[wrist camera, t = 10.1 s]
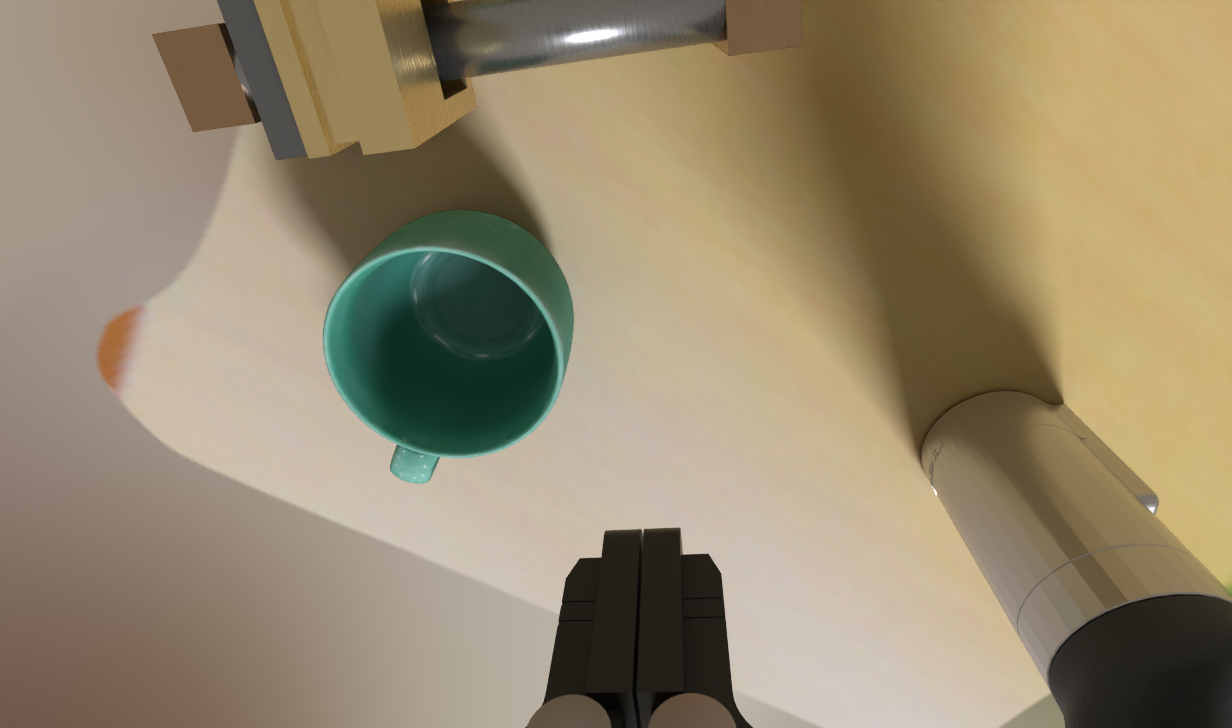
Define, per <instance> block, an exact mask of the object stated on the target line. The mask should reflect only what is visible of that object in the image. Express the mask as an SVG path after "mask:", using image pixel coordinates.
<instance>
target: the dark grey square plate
mask: <svg viewBox="0 0 1232 728" xmlns="http://www.w3.org/2000/svg"><path fill="white" fill-rule="evenodd" d="M217 2H218V4H219V7H220V10H221V12H222V15H223V18H224V21H225V23H226V26H227V29H228V31H229V34H230V37H231V39H232V42H233V45H234V48H235V50H236V53H237V56H238V58H239V61H240V64H241V66H242V69H243V72H244V75H245V77H246V80H247V83H248V85H249V88H250V91H251V93H252V96H253V99H254V102H255V104H256V107H257V110H258V112H259V115H260V118H261V120H262V123H263V126H264V129H265V131H266V134H267V137H268V139H269V142H270V145H271V147H272V150H273V153H274V156H275V158H276V160H280V159H287V158H295V157H302V156H307V153H306V150H305V147H304V144H303V141H302V138H301V135H300V133H299V130H298V127H297V124H296V121H295V118H294V115H293V112H292V110H291V107H290V104H289V101H288V98H287V95H286V92H285V89H284V87H283V84H282V81H281V78H280V75H279V72H278V69H277V66H276V64H275V61H274V58H273V55H272V52H271V49H270V46H269V43H268V41H267V38H266V35H265V32H264V29H263V26H262V23H261V20H260V18H259V15H258V12H257V9H256V6H255V3H254V0H217Z"/></svg>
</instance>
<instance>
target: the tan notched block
mask: <svg viewBox="0 0 1232 728" xmlns="http://www.w3.org/2000/svg"><path fill="white" fill-rule="evenodd" d="M449 2H454V0H254V3H255V6H256V9H257V12H258V15H259V18H260V20H261V23H262V26H263V29H264V32H265V35H266V38H267V41H268V43H269V46H270V49H271V52H272V55H273V58H274V61H275V64H276V66H277V69H278V72H279V75H280V78H281V81H282V84H283V87H284V89H285V92H286V95H287V98H288V101H289V104H290V107H291V110H292V112H293V115H294V118H295V121H296V124H297V127H298V130H299V133H300V135H301V138H302V141H303V144H304V147H305V150H306V153H307V156H308V158H309V159H311V158H318V157H326V156H331V155H333V154H335V153H337V152H339V151H341V150H343V149H345V148H347V147H349V146H351V145H353V144H355V143H357V142H360V146H361V149H362V152H363V155H369V154H376V153H384V152H391V151H399V150H406V149H414V148H416V147H418V146H419V145H421V144H422V143H424V142H425V141H427V140H428V139H430V138H431V137H433V136H434V135H436V134H437V133H439V132H440V131H442V130H443V129H445V128H446V127H448V126H449V125H451V124H452V123H454V122H455V121H457V120H458V119H460V118H461V117H463V116H464V115H466V114H467V113H469V112H470V111H472V110H473V109H474V108H476V107H477V104H476V100H475V95H474V91H473V86H472V82H471V77H468V78H462V79H455V80H448V81H441V82H440V80H439V76H438V72H437V68H436V64H435V60H434V55H433V51H432V47H431V43H430V39H429V35H428V31H427V27H426V22H425V18H424V14H423V10H422V7H423V6H430V5H436V4H443V3H449Z"/></svg>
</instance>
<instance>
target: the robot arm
mask: <svg viewBox="0 0 1232 728" xmlns="http://www.w3.org/2000/svg"><path fill="white" fill-rule="evenodd" d="M921 462H922V466H923V469H924V472H925V474H926V476H927V478H928V480H929V481H930V483H931V485H932V488H933V490H934V492H935V493H936V495H938V497H939V499H940V501H941V502H942V504H943V506H944V507H945V509H946V511H947V513H948V515H949V516H950V518H951V520H952V522H953V523H954V525H955V527H956V529H957V530H958V532H959V534H960V536H961V537H962V539H963V541H964V543H965V544H966V546H967V548H968V549H969V551H970V553H971V555H972V556H973V558H974V560H975V562H976V563H977V565H978V567H979V569H980V570H981V572H982V574H983V575H984V577H985V579H986V581H987V582H988V584H989V586H990V588H991V589H992V591H993V593H994V595H995V596H996V598H997V600H998V601H999V603H1000V605H1001V607H1002V608H1003V610H1004V612H1005V614H1006V615H1007V617H1008V619H1009V621H1010V622H1011V624H1012V626H1013V628H1014V629H1015V631H1016V633H1017V634H1018V636H1019V638H1020V640H1021V641H1022V643H1023V644H1024V646H1025V648H1026V650H1027V652H1028V653H1029V655H1030V657H1031V658H1032V660H1033V662H1034V664H1035V665H1036V667H1037V669H1038V671H1039V672H1040V674H1041V676H1042V678H1043V679H1044V681H1045V683H1046V685H1047V686H1048V688H1049V690H1050V691H1051V693H1052V695H1053V697H1054V698H1055V700H1056V702H1057V704H1058V705H1059V707H1060V709H1061V711H1062V713H1063V715H1064V720H1065V728H1232V594H1231V593H1230V592H1229V591H1228V590H1227V589H1226V588H1225V587H1224V586H1223V585H1222V584H1221V583H1220V581H1219V580H1218V579H1217V578H1216V577H1215V576H1214V575H1213V574H1212V573H1211V572H1210V571H1209V570H1208V569H1207V568H1206V567H1205V566H1204V565H1203V564H1202V563H1201V562H1200V561H1199V560H1198V559H1197V558H1196V557H1195V556H1194V555H1193V554H1192V553H1191V552H1190V551H1189V550H1188V549H1187V548H1186V547H1185V546H1184V545H1183V544H1182V543H1181V542H1180V541H1179V540H1178V539H1177V537H1176V536H1175V535H1174V534H1173V533H1172V532H1171V531H1170V530H1169V529H1168V528H1167V527H1166V526H1165V525H1164V524H1163V523H1162V522H1161V521H1160V520H1159V519H1158V518H1157V517H1156V516H1155V514H1156V511H1157V508H1158V505H1159V499H1158V497H1157V495H1156V494H1155V492H1154V491H1153V490H1152V489H1150V488H1149V487H1148V486H1147V485H1146V484H1145V483H1144V482H1143V481H1142V480H1141V479H1140V478H1139V477H1138V476H1137V475H1136V474H1135V473H1134V472H1133V471H1132V470H1131V469H1130V468H1129V467H1128V466H1127V465H1126V464H1125V463H1124V462H1123V461H1122V460H1121V459H1120V458H1119V457H1118V456H1117V455H1116V454H1115V453H1114V452H1113V451H1112V450H1111V449H1110V448H1109V447H1108V446H1107V445H1106V444H1105V443H1104V442H1103V441H1102V440H1101V439H1100V438H1099V437H1098V436H1097V435H1096V434H1095V433H1094V432H1093V431H1092V430H1091V429H1090V428H1089V427H1088V426H1087V425H1086V424H1085V423H1084V422H1083V421H1082V420H1081V419H1080V418H1079V417H1078V416H1077V415H1075V414H1074V413H1073V412H1072V411H1071V410H1070V409H1069V408H1068V407H1067V406H1066V405H1065V404H1060V405H1050V404H1048V403H1045V402H1044V401H1042V400H1040V399H1039V398H1037V397H1035V396H1032V395H1029V394H1026V393H1023V392H1014V391H998V392H990V393H986V394H982V395H978V396H975V397H973V398H970V399H968V400H965V401H963V402H961V403H959V404H958V405H956V406H955V407H953V408H951V409H950V410H948V411H947V412H946V413H945V414H944V415H943V416H942V417H940V418H939V419H938V420H937V421H936V423H935V424H934V425H933V426H932V428H931V429H930V430H929V432H928V434H927V436H926V438H925V440H924V443H923V447H922V451H921ZM526 728H753V727H752V726H751V725H749V723H748V722H747V721H746V720H745V719H744V718H743V716H742V715H741V714H740V712H739V710H738V708H737V706H736V704H735V701H734V697H733V692H732V682H731V671H730V661H729V650H728V640H727V629H726V620H725V608H724V598H723V587H722V577H721V573H720V571H719V570H718V568H717V566H716V565H715V563H714V562H713V560H712V559H711V557H710V556H709V554H690V555H683V552H682V540H681V530H680V528H657V529H644V534H643V533H642V529H636V530H610V531H605V534H604V541H603V549H602V558H580V559H579V560H578V562H577V563H576V565H575V566H574V568H573V569H572V571H571V572H570V574H569V575H568V576H567V578H566V581H565V587H564V593H563V599H562V606H561V610H560V616H559V625H558V628H557V633H556V638H555V644H554V651H553V656H552V662H551V667H550V673H549V678H548V685H547V690H546V695H545V699H544V702H543V704H542V706H541V707H540V708H539V709H538V710H537V711H536V712H535V714H534V715H533V716H532V718H531V719H530V721H529V723H528V725H527V727H526Z"/></svg>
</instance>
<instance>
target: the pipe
mask: <svg viewBox="0 0 1232 728" xmlns="http://www.w3.org/2000/svg"><path fill="white" fill-rule="evenodd" d="M422 10H423V14H424V18H425V22H426V27H427V31H428V35H429V39H430V43H431V47H432V51H433V55H434V60H435V64H436V68H437V72H438V76H439V80H440V82H441V81H448V80H455V79H462V78H468V77H475V76H482V75H489V74H496V73H503V72H510V71H517V70H524V69H531V68H538V67H545V66H552V65H558V64H565V63H572V62H579V61H586V60H593V59H600V58H607V57H614V56H621V55H628V54H635V53H642V52H648V51H655V50H662V49H669V48H676V47H683V46H690V45H697V44H704V43H712V44H714V45H715V46H716V47H718V48H719V49H720V50H721V51H723V52H724V53H725V54H726V55H728V56H732V55H739V54H747V53H754V52H761V51H768V50H775V49H782V48H789V47H796V46H802V0H462V1H455V2H449V3H443V4H436V5H430V6H423V7H422ZM152 36H153V38H154V40H155V43H156V45H157V48H158V50H159V52H160V55H161V57H162V60H163V62H164V64H165V67H166V69H167V71H168V74H169V76H170V78H171V81H172V83H173V86H174V88H175V90H176V93H177V95H178V97H179V100H180V102H181V104H182V107H183V109H184V112H185V114H186V116H187V119H188V121H189V124H190V126H191V128H192V131H193V132H197V131H204V130H211V129H218V128H225V127H232V126H240V125H247V124H254V123H258V122H261V121H262V120H261V118H260V115H259V112H258V110H257V107H256V104H255V102H254V99H253V96H252V93H251V91H250V88H249V85H248V83H247V80H246V77H245V75H244V72H243V69H242V66H241V64H240V61H239V58H238V56H237V53H236V50H235V48H234V45H233V42H232V39H231V37H230V34H229V31H228V29H227V26H226V23H222V24H213V25H207V26H201V27H195V28H188V29H182V30H176V31H169V32H163V33H157V34H152Z"/></svg>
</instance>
